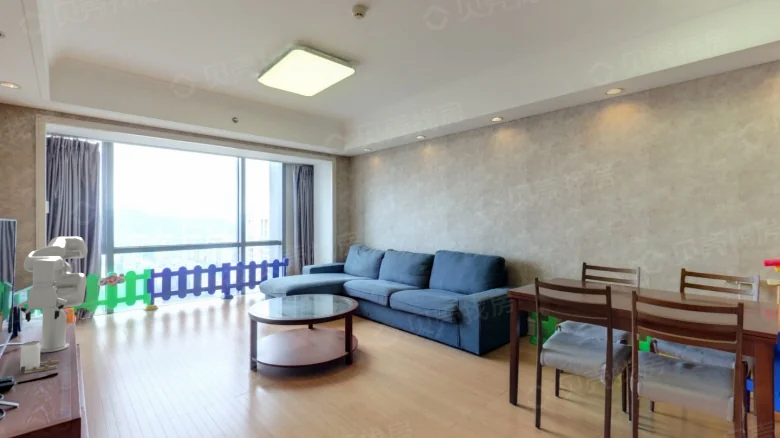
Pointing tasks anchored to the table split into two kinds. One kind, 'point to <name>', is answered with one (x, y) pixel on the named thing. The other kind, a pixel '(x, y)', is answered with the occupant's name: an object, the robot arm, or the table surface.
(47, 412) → the table surface
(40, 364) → the comb channel
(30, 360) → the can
